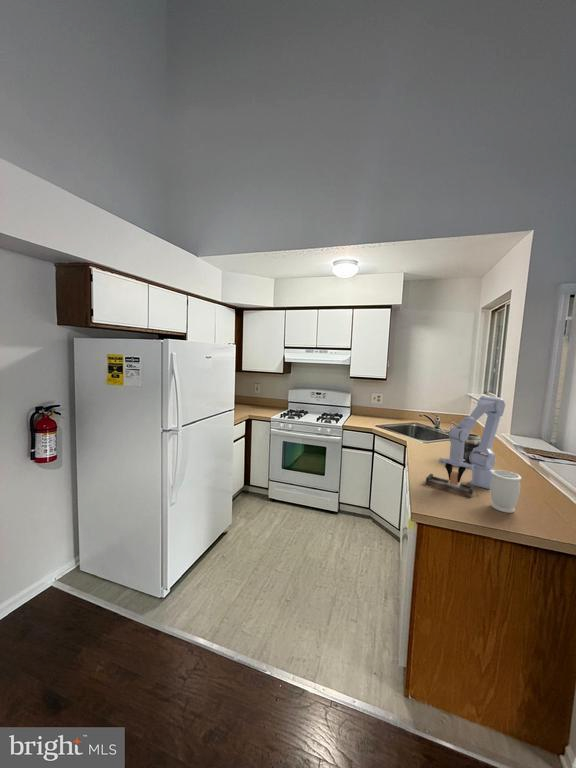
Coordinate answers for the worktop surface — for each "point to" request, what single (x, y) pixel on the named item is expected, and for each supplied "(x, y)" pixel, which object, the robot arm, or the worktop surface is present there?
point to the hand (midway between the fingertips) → (454, 480)
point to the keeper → (454, 480)
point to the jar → (504, 490)
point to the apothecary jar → (470, 446)
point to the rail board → (442, 484)
